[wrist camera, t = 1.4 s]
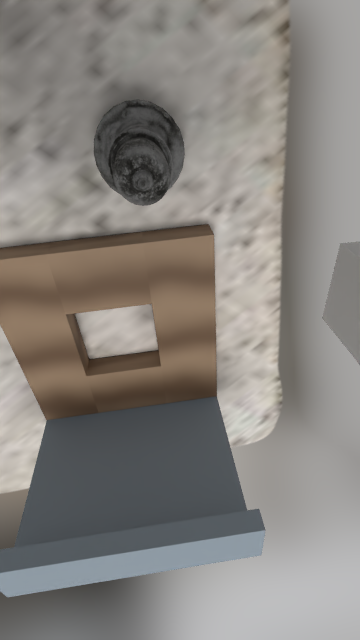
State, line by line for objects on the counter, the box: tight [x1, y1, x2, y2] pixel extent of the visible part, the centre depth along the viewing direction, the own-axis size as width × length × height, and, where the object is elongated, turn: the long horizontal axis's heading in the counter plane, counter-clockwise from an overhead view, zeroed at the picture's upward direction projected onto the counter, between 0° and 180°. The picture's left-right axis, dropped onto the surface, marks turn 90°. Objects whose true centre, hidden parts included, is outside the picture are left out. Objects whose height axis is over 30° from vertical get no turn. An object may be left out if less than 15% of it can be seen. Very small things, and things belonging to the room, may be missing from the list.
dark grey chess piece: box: [94, 100, 185, 206], centre depth 20 cm, size 6×6×12 cm
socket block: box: [0, 224, 217, 420], centre depth 33 cm, size 19×19×2 cm
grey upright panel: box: [0, 396, 265, 597], centre depth 32 cm, size 4×20×18 cm, turn 94°
